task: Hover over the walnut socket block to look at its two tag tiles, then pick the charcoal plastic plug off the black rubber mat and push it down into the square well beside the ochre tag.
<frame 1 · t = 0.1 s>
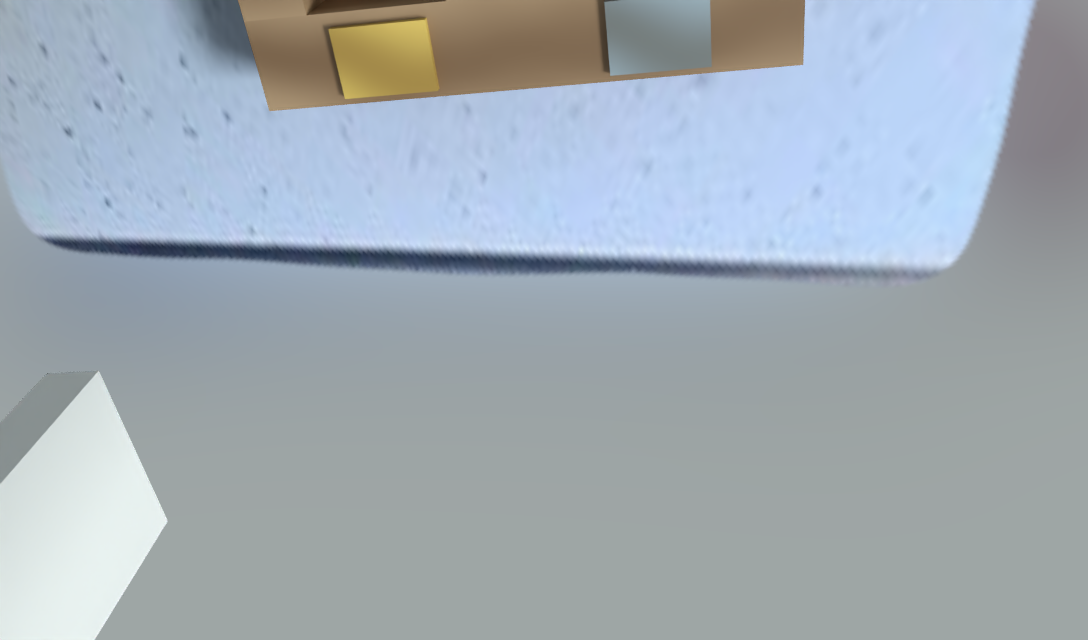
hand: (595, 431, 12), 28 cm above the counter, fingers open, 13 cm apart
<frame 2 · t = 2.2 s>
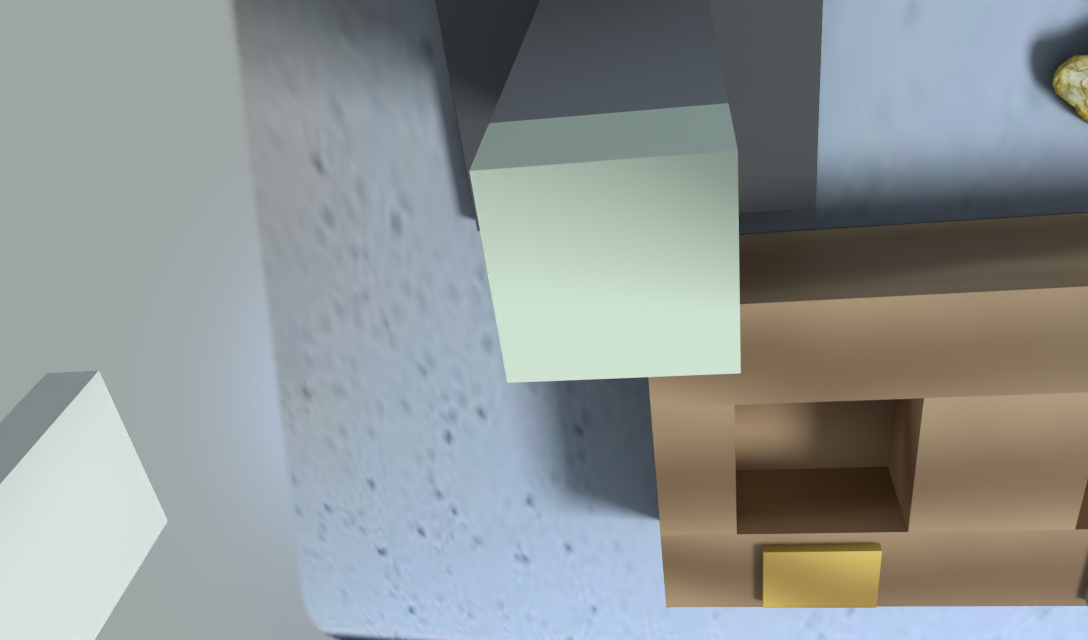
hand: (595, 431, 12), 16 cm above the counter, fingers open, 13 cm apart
mat: (629, 46, 25), on the counter
socket block: (963, 383, 30), on the counter
plug: (629, 53, 25), point 1 cm above the counter, touching mat
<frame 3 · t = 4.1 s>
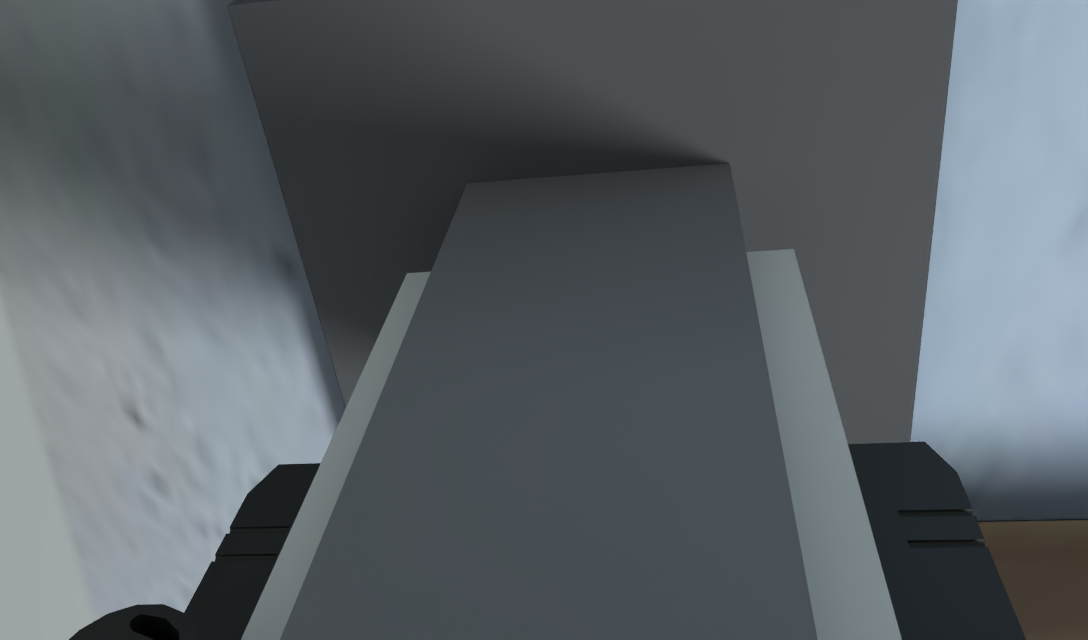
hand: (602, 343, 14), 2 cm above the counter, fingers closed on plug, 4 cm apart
mat: (608, 269, 16), on the counter
plug: (607, 287, 15), point 1 cm above the counter, touching gripper, mat
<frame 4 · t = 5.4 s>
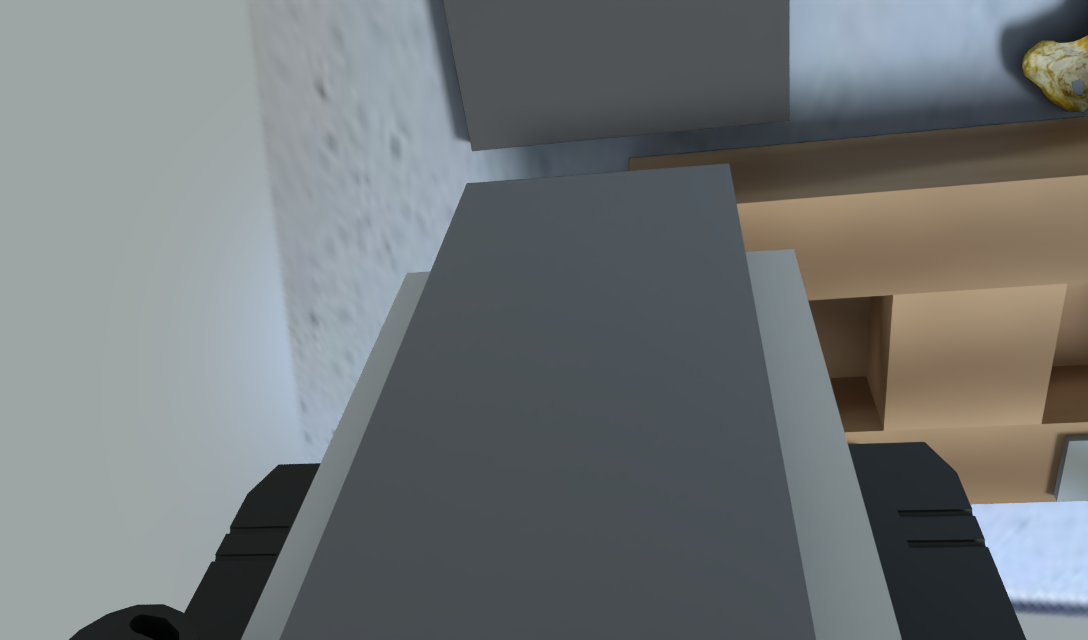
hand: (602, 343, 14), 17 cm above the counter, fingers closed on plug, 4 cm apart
socket block: (936, 294, 32), on the counter
plug: (606, 287, 15), point 15 cm above the counter, touching gripper
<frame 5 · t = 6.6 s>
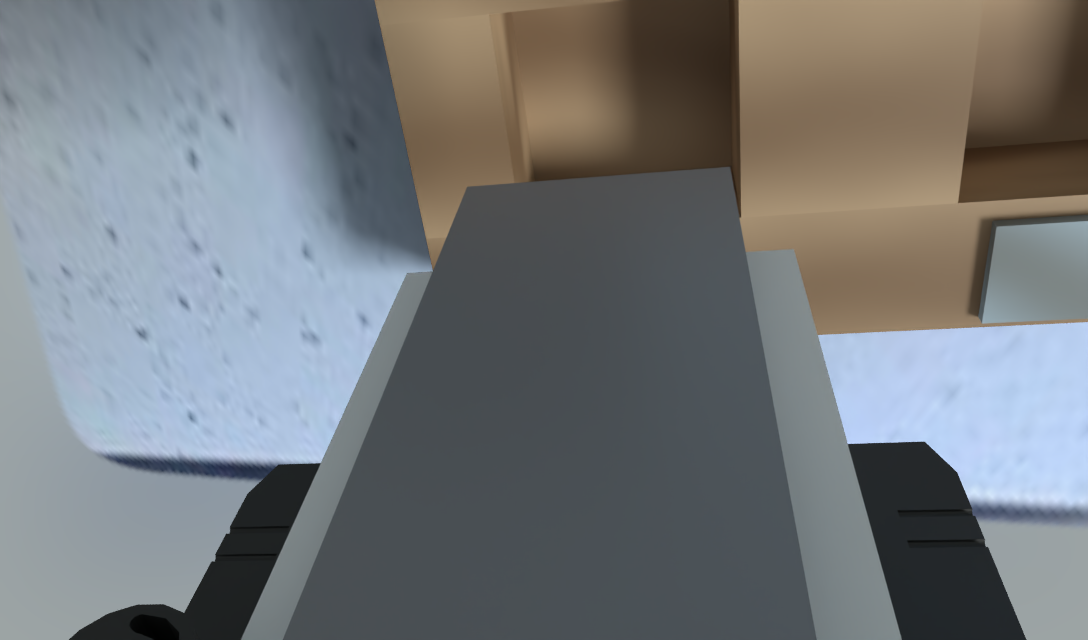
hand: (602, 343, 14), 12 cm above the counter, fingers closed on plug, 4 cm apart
socket block: (824, 46, 23), on the counter
plug: (607, 290, 15), point 11 cm above the counter, touching gripper
when the fingers open (5 cm above the counter, at t = 8.1 s): plug drops 2 cm, resting on socket block.
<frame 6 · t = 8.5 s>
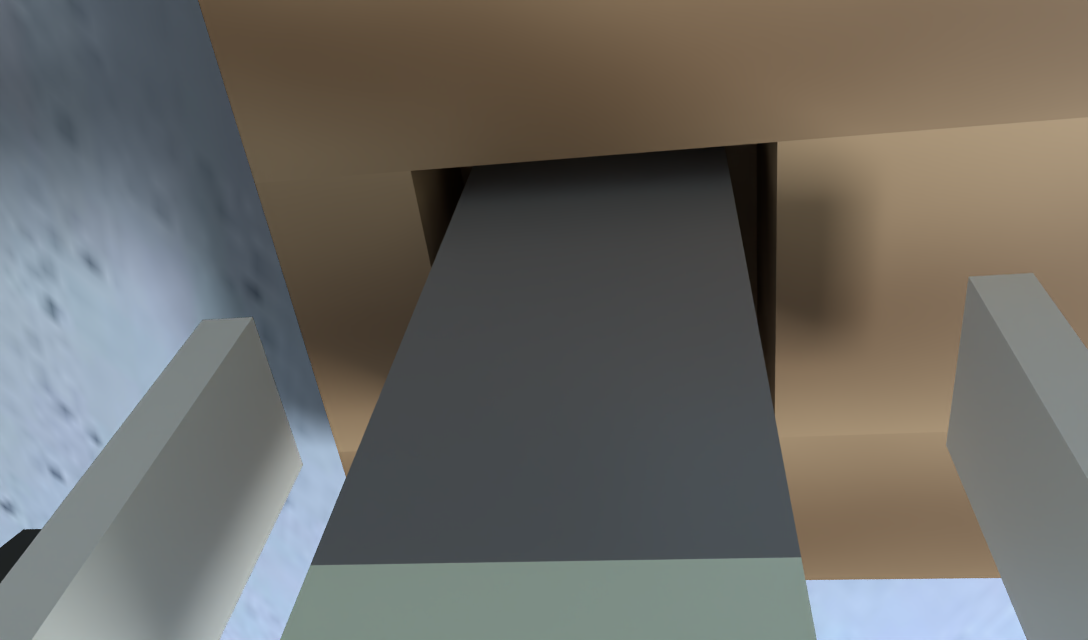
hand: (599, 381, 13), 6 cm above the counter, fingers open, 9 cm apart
socket block: (884, 184, 17), on the counter
plug: (610, 227, 17), point 1 cm above the counter, touching socket block
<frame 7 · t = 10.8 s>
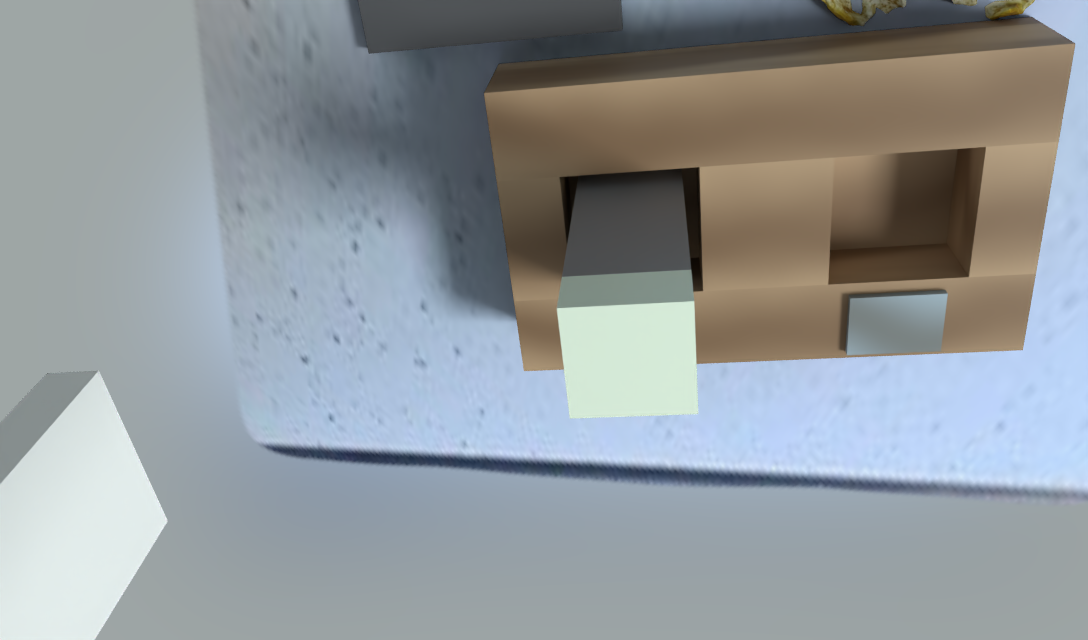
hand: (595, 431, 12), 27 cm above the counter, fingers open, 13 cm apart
socket block: (754, 187, 38), on the counter
plug: (633, 205, 38), point 1 cm above the counter, touching socket block
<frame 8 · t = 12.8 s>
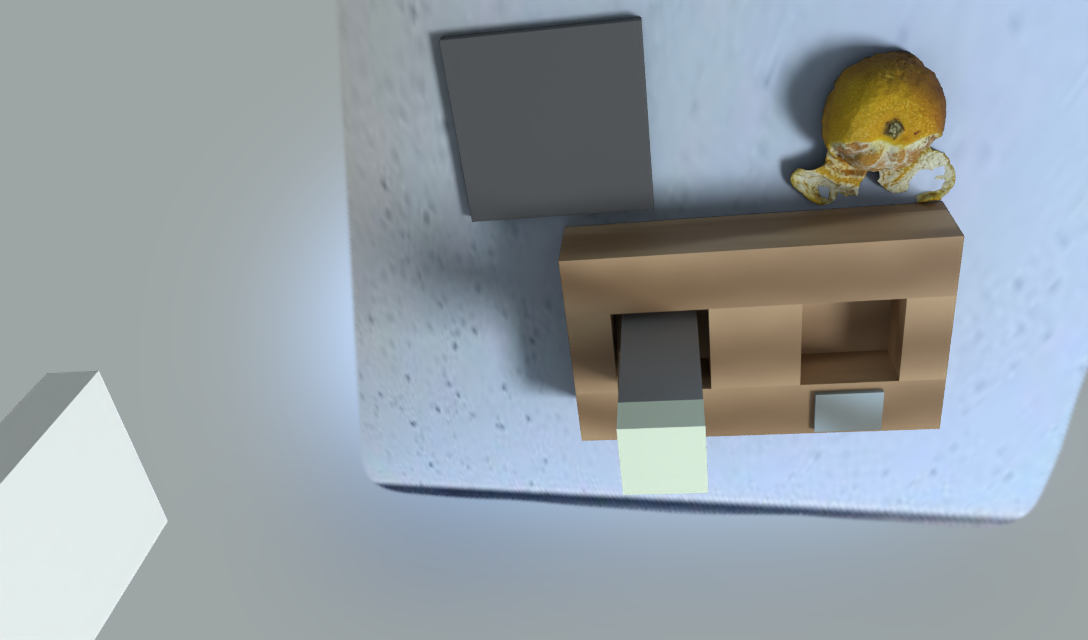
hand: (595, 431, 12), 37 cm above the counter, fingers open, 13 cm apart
mat: (551, 124, 48), on the counter
socket block: (748, 309, 53), on the counter
fruit: (864, 140, 48), on the counter
plug: (660, 323, 53), point 1 cm above the counter, touching socket block
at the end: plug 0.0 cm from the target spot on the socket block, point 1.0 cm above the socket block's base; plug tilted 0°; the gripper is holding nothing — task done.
